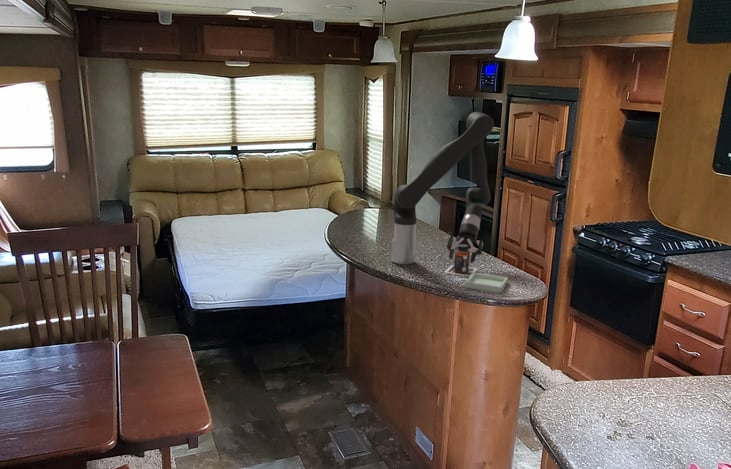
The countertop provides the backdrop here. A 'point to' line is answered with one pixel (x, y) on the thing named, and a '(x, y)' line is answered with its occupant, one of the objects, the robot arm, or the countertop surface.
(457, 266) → the supplement bottle
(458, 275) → the mat frame
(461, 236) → the robot arm
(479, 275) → the tray
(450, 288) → the countertop surface
